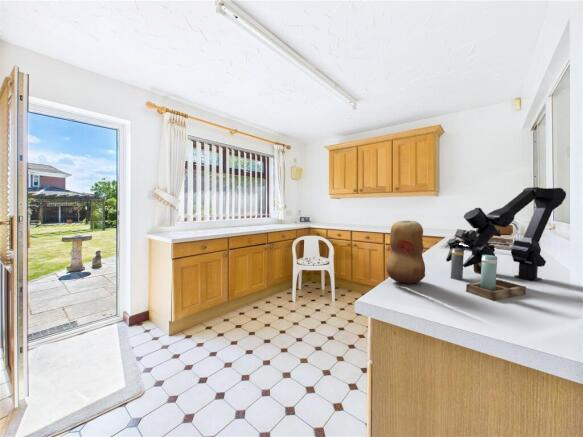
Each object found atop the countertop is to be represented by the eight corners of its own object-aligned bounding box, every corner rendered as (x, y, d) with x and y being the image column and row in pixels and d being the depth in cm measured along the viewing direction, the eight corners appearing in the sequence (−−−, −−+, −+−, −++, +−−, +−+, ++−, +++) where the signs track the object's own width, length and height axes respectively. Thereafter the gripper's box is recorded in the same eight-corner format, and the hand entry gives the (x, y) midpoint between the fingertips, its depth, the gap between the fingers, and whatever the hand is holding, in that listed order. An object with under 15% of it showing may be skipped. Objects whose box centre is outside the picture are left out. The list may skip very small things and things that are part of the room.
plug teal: (485, 291, 86) (487, 254, 85) (498, 295, 82) (500, 257, 81) (477, 292, 84) (478, 255, 84) (490, 297, 81) (492, 257, 80)
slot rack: (496, 288, 92) (497, 279, 91) (526, 297, 83) (527, 286, 83) (464, 294, 86) (465, 284, 86) (493, 304, 77) (493, 293, 77)
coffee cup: (499, 275, 107) (501, 246, 106) (480, 275, 108) (481, 246, 107) (484, 270, 116) (485, 242, 115) (466, 270, 116) (467, 242, 115)
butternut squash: (383, 286, 94) (385, 221, 92) (387, 276, 106) (389, 218, 104) (425, 292, 87) (427, 222, 86) (424, 281, 99) (426, 220, 98)
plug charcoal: (455, 278, 103) (456, 248, 102) (464, 281, 99) (466, 249, 99) (448, 279, 102) (449, 248, 101) (457, 282, 98) (459, 250, 97)
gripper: (452, 220, 109) (427, 245, 108) (489, 224, 90) (460, 254, 90) (467, 238, 110) (443, 263, 110) (508, 245, 91) (479, 275, 91)
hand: (454, 263), depth 100 cm, fingers open, 9 cm apart
